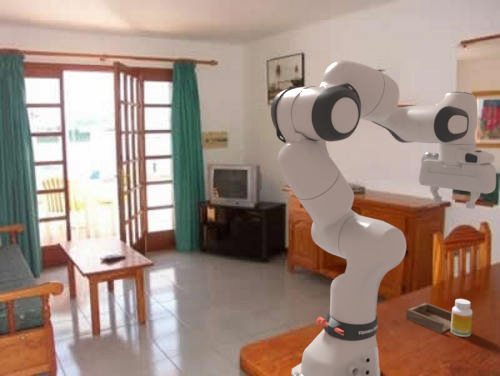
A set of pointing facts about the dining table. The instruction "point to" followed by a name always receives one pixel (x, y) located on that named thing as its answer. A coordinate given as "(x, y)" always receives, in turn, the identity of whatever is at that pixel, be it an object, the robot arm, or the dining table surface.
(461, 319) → the supplement bottle
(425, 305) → the tray
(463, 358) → the dining table surface
